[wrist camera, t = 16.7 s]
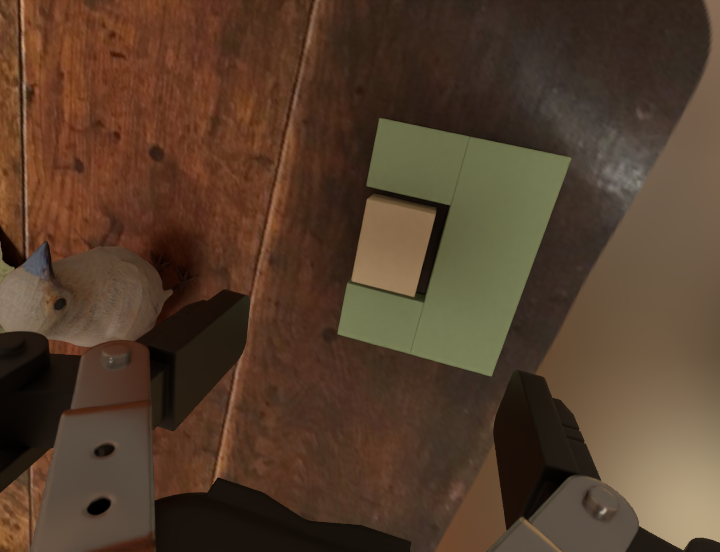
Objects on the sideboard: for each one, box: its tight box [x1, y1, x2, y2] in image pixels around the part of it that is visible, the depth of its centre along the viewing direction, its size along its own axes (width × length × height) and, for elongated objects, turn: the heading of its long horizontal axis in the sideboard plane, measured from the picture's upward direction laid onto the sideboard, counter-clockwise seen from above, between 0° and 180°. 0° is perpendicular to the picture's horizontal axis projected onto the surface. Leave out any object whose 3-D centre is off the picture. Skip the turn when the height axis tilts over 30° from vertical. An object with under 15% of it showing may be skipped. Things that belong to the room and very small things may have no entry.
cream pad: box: [351, 193, 436, 297], centre depth 29 cm, size 6×5×3 cm
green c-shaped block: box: [337, 118, 571, 376], centre depth 29 cm, size 16×12×2 cm
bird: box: [0, 241, 198, 347], centre depth 28 cm, size 5×14×15 cm, turn 152°
